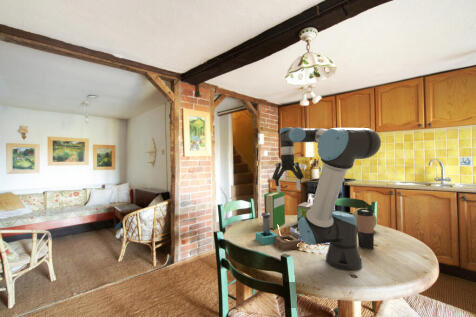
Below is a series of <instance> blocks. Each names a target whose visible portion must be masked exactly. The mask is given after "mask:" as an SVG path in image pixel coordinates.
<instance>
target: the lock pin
mask: <svg viewBox="0 0 476 317" xmlns="http://www.w3.org/2000/svg"><path fill="white" fill-rule="evenodd" d="M261 216H262V232H263V236H270V231H271V228H270V216H271V213H268V212H265V211H264V212H262V213H261Z"/></svg>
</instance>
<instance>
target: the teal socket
mask: <svg viewBox="0 0 476 317" xmlns="http://www.w3.org/2000/svg"><path fill="white" fill-rule="evenodd" d="M277 236H279V235H278V234H277V233H275V232H273V230H270V236H263V231H258V232H255V241H257V242H258V243H260V245H262V246H266V245H272V244H274V245H275V237H277Z"/></svg>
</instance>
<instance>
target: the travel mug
mask: <svg viewBox="0 0 476 317" xmlns="http://www.w3.org/2000/svg"><path fill="white" fill-rule="evenodd" d="M358 209H359V208H358ZM373 213H374V210H372V209H369V208H367V209H366V208H364V209H359V210H357V224H358V228H357V245H358V247H359V248H361V249H364V250H373V249H374V248H375V246H374V245H375V244H374V243H375V242H374V241H375V238H374V237H375V234H374V233H375V232H374V231H375V230H374V228H375V227H374V225H373Z"/></svg>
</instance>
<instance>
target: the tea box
mask: <svg viewBox="0 0 476 317" xmlns="http://www.w3.org/2000/svg"><path fill="white" fill-rule="evenodd" d="M312 204H313V202H305V201H304V202H302V203H299V204H297V207H296V210H297V211H296V215H297V216H296V218H297V219H296V220H297V221H296V223H297V224H298V221H299V219H301V218H305V217H306V213H307V211H308V210H310V209H311V208H312ZM297 224H296V225H297Z"/></svg>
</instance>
